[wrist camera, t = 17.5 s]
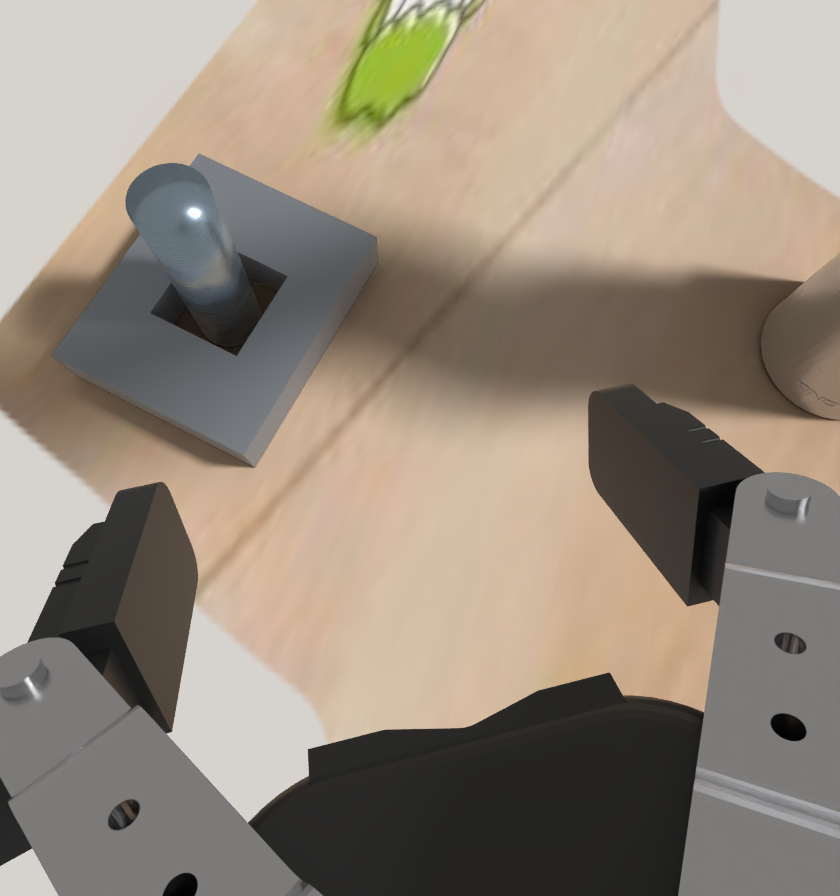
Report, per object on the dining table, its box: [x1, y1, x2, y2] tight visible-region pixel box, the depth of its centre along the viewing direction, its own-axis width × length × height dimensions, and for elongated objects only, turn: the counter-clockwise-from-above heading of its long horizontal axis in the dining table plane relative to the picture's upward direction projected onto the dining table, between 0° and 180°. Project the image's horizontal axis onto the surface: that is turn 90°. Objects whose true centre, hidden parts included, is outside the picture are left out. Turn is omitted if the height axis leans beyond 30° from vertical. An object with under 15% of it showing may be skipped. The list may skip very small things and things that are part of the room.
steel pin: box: [126, 163, 262, 347], centre depth 36 cm, size 4×4×12 cm
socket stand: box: [51, 154, 378, 467], centre depth 40 cm, size 16×13×3 cm
